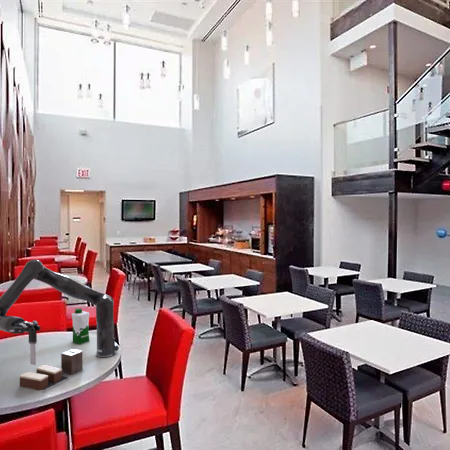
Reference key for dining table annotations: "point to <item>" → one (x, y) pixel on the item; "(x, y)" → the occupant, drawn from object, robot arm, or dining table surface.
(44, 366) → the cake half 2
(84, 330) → the milk carton
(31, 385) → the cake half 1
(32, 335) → the knife
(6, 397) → the dining table surface
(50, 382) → the cake board
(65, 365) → the knife block
